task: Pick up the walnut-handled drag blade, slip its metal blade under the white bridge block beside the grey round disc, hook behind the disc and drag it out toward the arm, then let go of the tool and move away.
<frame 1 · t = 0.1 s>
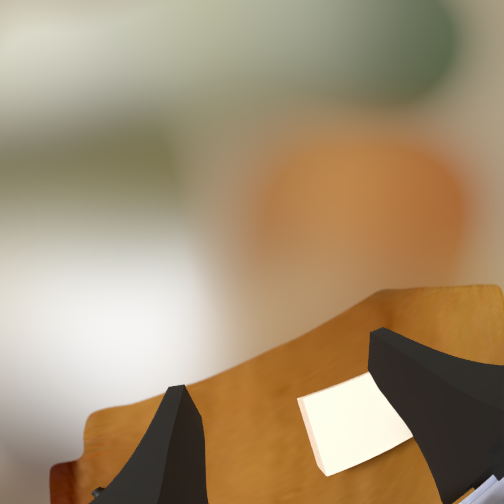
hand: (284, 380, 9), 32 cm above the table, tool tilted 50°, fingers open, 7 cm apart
white bridge block: (363, 412, 35), on the table
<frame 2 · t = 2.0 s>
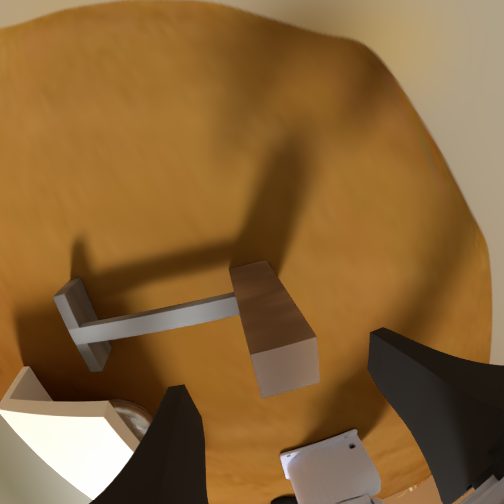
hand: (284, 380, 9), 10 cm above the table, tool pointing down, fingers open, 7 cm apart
white bridge block: (111, 429, 21), on the table
drag blade: (251, 281, 19), on the table
grey round disc: (127, 414, 21), on the table
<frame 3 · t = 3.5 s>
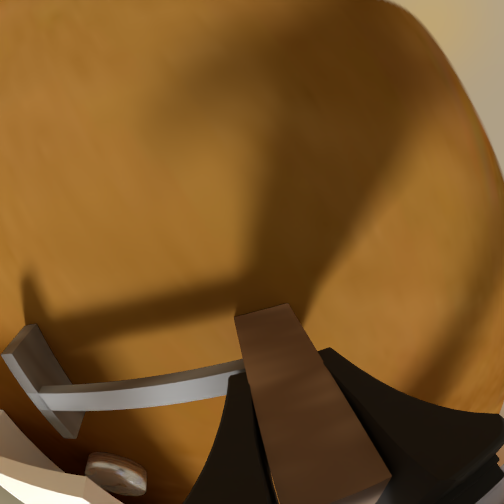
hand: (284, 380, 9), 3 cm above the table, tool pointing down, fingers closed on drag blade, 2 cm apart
white bridge block: (101, 476, 15), on the table
drag blade: (265, 332, 13), on the table, touching gripper
grey round disc: (117, 465, 15), on the table
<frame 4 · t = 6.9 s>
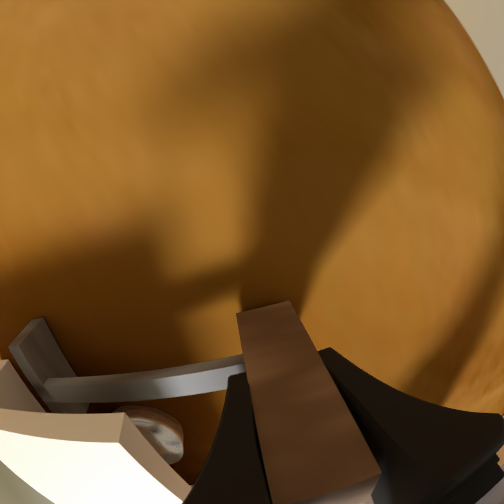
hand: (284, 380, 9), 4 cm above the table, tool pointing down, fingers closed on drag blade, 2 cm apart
white bridge block: (123, 445, 15), on the table
drag blade: (267, 328, 13), point 1 cm above the table, touching gripper
grey round disc: (146, 426, 15), on the table
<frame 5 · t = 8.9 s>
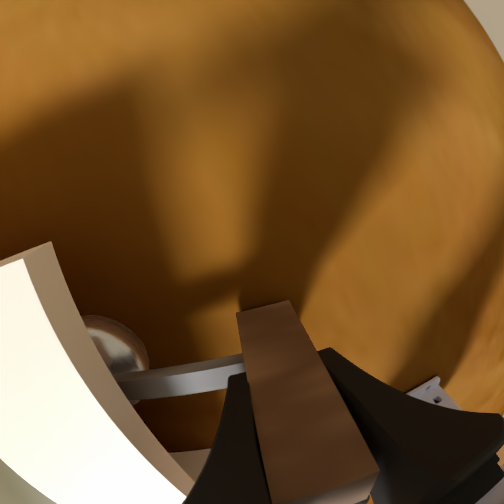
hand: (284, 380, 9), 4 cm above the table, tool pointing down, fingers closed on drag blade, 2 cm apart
white bridge block: (81, 385, 13), on the table
drag blade: (267, 328, 13), on the table, touching gripper
grey round disc: (106, 352, 13), on the table
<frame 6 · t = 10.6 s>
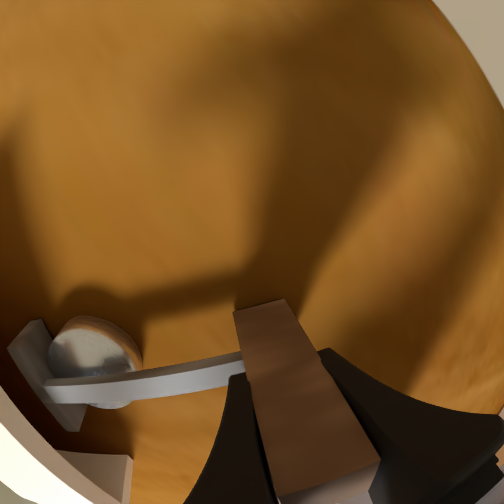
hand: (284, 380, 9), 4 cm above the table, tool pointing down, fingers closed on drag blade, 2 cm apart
white bridge block: (15, 386, 12), on the table
drag blade: (263, 326, 13), on the table, touching gripper
grey round disc: (100, 352, 13), on the table
when the fingers open (4 cm above the table, at t = 10.6 s): drag blade stays where it is, on the table.
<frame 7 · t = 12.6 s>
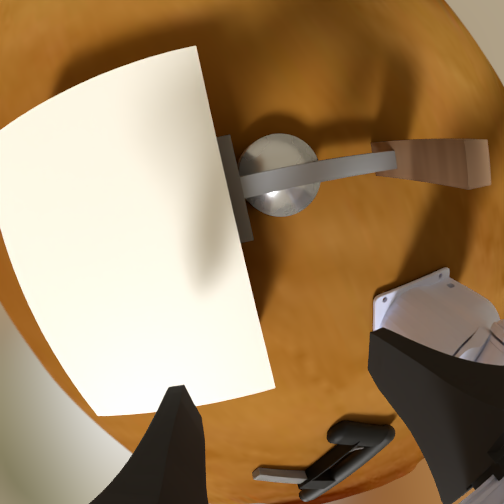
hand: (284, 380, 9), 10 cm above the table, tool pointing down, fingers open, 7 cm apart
white bridge block: (141, 240, 17), on the table
drag blade: (386, 157, 18), on the table
door handle: (314, 458, 30), on the table
grey round disc: (273, 174, 18), on the table
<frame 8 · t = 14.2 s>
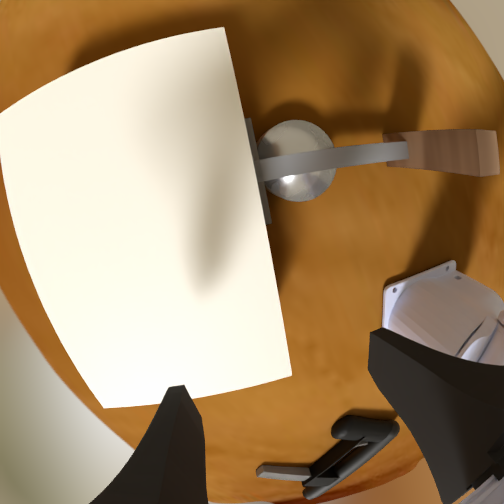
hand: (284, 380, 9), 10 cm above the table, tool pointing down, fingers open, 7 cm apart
white bridge block: (154, 224, 17), on the table
drag blade: (397, 149, 18), on the table
door handle: (318, 455, 30), on the table
grey round disc: (289, 160, 18), on the table
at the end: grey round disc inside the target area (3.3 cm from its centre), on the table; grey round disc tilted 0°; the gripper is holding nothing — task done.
